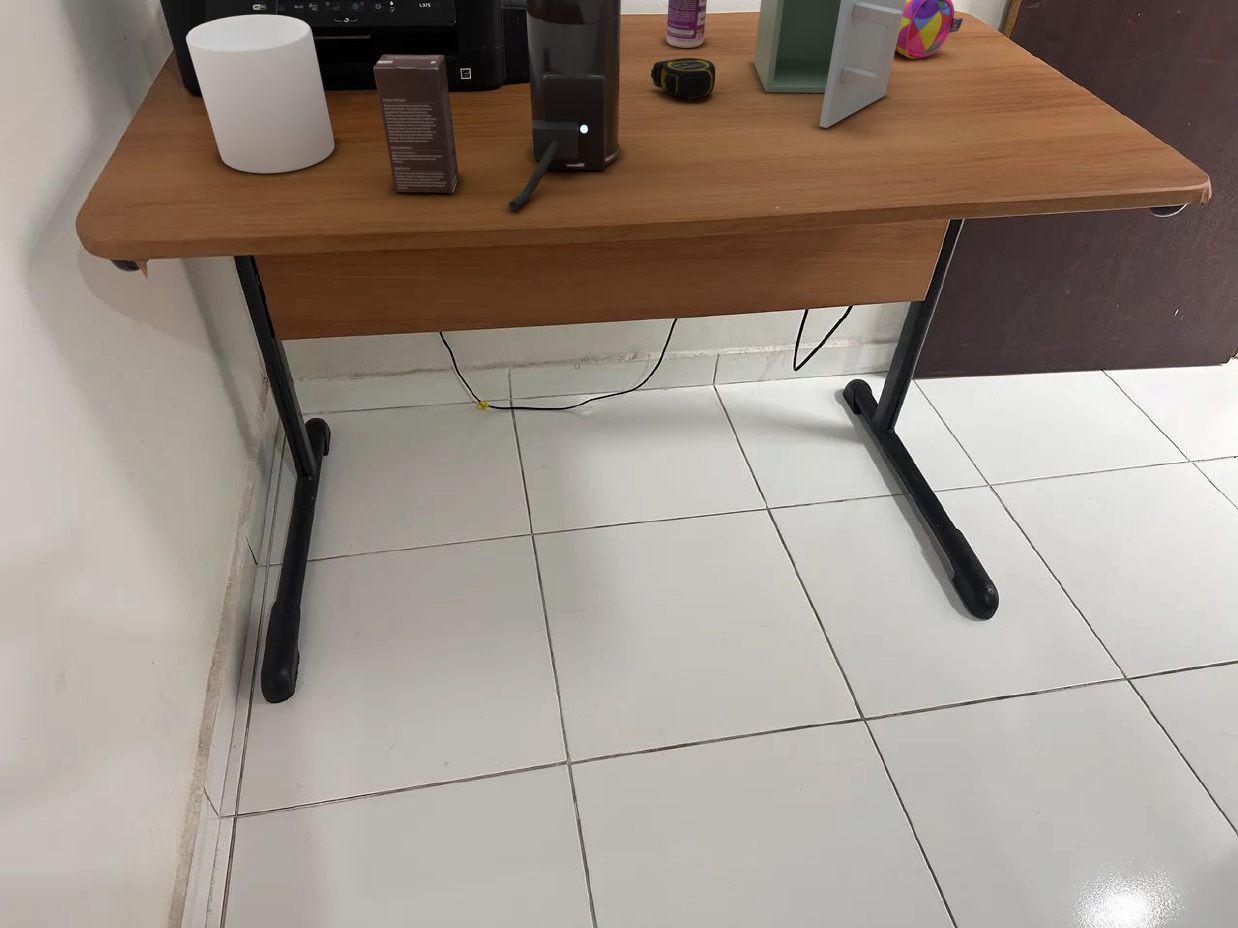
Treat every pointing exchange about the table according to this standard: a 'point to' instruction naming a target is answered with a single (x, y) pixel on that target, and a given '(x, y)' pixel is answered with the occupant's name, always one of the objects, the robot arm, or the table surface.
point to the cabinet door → (861, 56)
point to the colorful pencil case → (925, 27)
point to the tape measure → (684, 77)
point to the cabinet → (795, 44)
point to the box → (417, 122)
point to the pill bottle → (686, 23)
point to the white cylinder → (262, 92)
